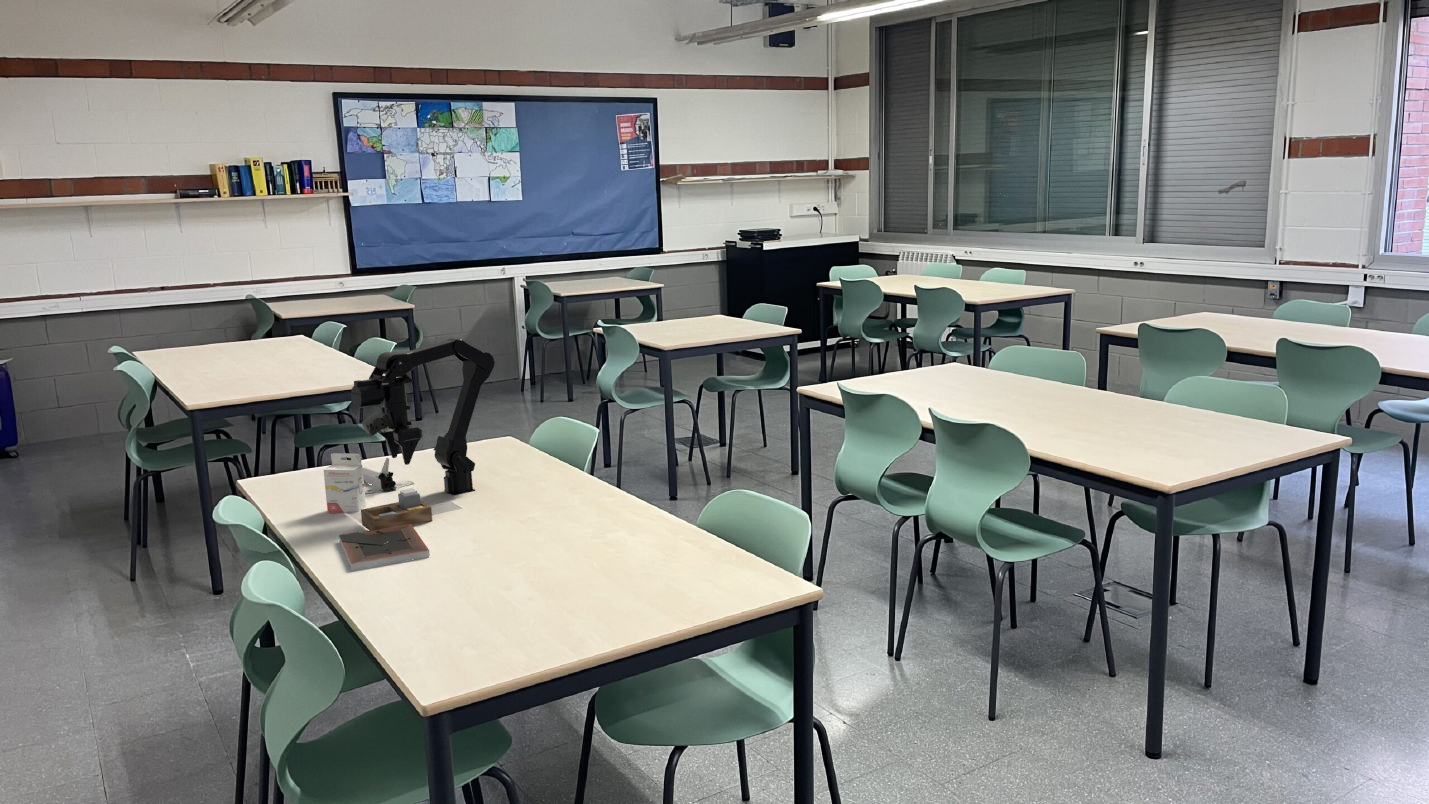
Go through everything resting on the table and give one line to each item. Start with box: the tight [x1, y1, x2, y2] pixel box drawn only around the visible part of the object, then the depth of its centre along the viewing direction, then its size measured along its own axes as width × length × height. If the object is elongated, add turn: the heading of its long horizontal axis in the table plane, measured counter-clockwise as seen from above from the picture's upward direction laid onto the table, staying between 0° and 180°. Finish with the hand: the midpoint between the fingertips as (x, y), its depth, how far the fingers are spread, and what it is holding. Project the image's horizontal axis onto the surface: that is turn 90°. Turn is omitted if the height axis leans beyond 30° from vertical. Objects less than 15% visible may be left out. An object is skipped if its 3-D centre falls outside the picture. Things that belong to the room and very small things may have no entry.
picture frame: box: [338, 524, 431, 572], centre depth 233 cm, size 16×2×22 cm
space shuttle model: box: [363, 457, 415, 495], centre depth 288 cm, size 16×25×10 cm, turn 39°
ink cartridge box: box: [323, 453, 367, 514], centre depth 261 cm, size 9×5×15 cm, turn 84°
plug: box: [397, 487, 421, 510], centre depth 252 cm, size 4×4×7 cm
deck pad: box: [429, 501, 463, 516], centre depth 261 cm, size 8×8×1 cm
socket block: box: [360, 500, 433, 531], centre depth 250 cm, size 14×10×4 cm
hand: (400, 461), depth 263 cm, fingers open, 9 cm apart
